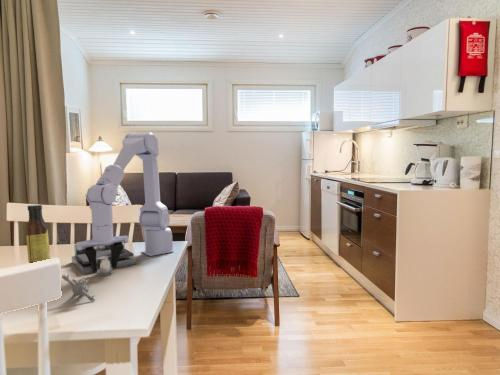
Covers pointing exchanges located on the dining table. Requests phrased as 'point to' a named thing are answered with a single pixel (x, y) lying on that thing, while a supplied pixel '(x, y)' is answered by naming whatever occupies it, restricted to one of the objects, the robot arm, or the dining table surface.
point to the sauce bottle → (37, 235)
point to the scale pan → (85, 260)
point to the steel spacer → (104, 266)
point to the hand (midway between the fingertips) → (104, 269)
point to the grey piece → (79, 287)
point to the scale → (87, 267)
